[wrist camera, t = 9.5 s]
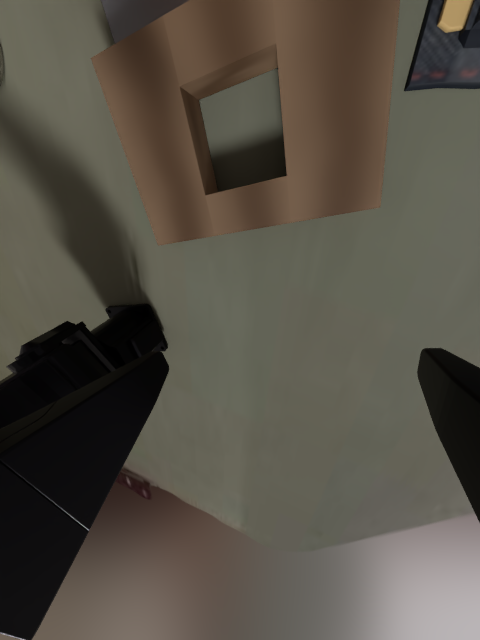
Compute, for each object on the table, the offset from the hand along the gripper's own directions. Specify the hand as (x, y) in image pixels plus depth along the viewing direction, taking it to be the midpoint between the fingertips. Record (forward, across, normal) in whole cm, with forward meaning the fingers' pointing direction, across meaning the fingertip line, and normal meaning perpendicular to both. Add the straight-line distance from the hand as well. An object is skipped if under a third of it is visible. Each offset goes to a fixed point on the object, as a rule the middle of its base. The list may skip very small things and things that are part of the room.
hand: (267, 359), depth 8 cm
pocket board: (+13, +2, -9) cm, 16 cm away
